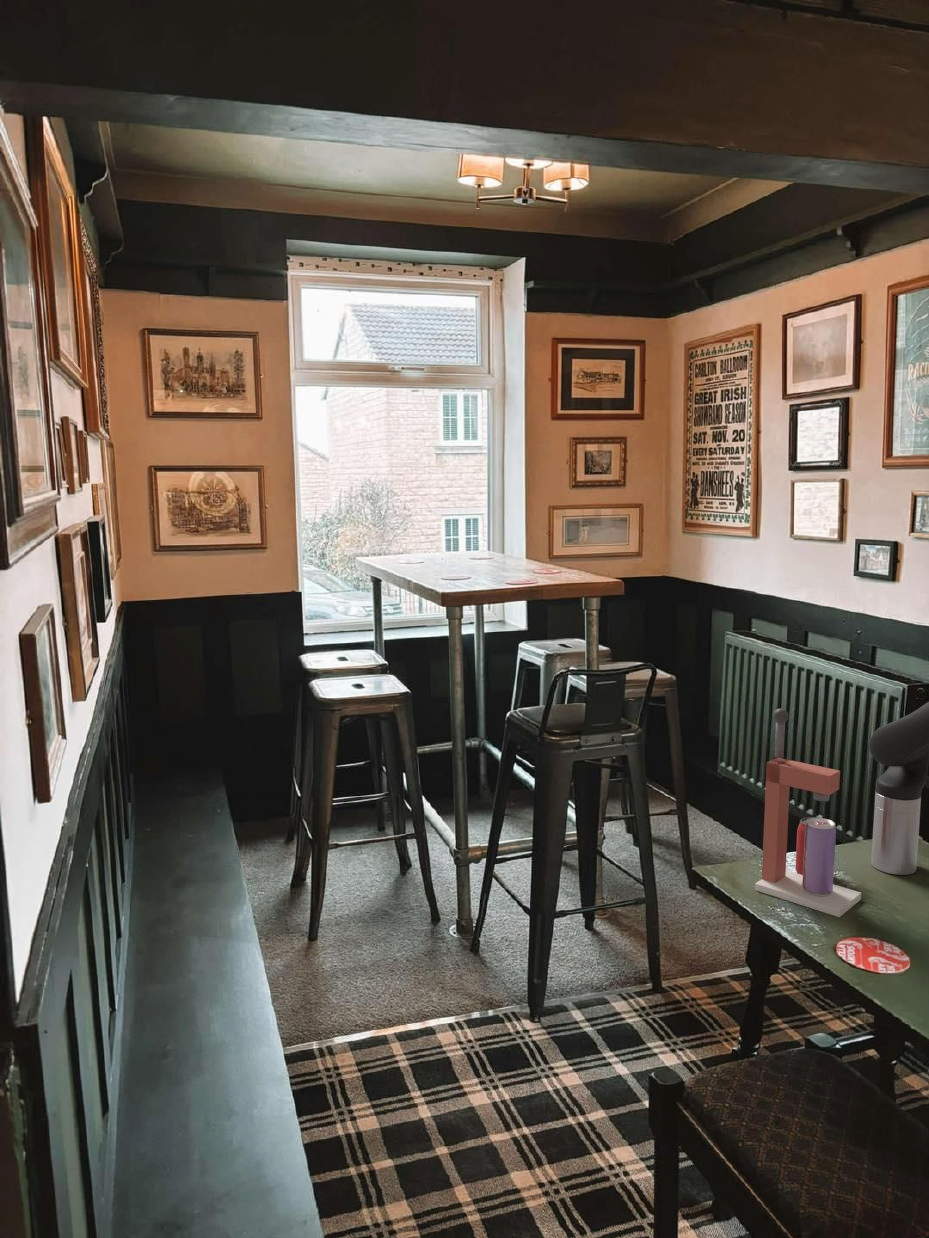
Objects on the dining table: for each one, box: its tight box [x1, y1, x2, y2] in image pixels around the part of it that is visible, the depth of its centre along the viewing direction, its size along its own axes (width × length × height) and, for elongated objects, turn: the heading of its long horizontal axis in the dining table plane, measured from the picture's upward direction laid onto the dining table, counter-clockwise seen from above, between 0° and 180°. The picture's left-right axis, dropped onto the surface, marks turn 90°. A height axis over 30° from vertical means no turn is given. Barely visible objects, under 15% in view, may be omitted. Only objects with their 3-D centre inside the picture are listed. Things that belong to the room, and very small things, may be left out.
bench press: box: [754, 708, 862, 918], centre depth 188 cm, size 11×18×39 cm, turn 46°
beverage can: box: [802, 817, 837, 896], centre depth 188 cm, size 6×6×15 cm
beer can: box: [795, 817, 810, 875], centre depth 200 cm, size 7×7×12 cm
